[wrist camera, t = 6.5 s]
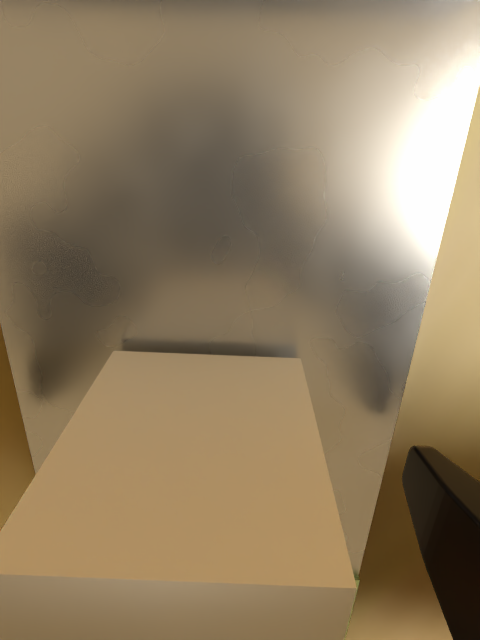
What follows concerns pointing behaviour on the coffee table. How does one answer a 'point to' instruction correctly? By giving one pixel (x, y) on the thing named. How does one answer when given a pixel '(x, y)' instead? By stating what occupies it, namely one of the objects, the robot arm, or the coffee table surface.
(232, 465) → the cream rectangular block
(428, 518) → the robot arm
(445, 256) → the coffee table surface
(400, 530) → the coffee table surface
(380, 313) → the gray display stand
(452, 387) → the coffee table surface
